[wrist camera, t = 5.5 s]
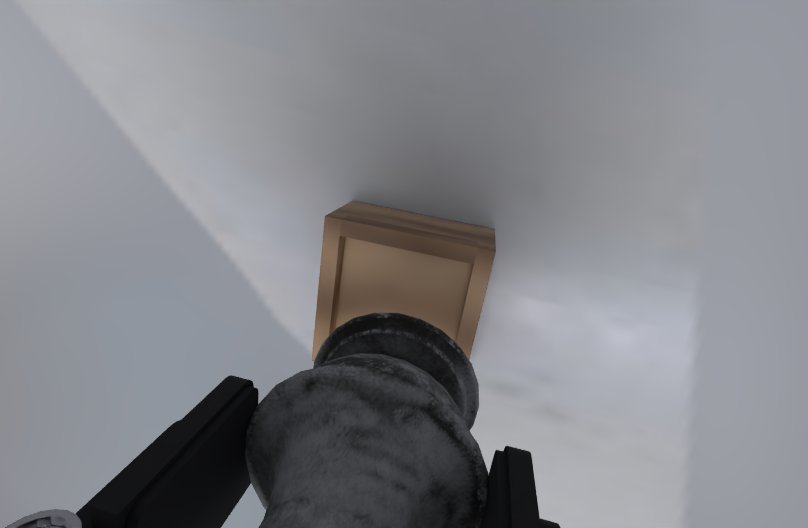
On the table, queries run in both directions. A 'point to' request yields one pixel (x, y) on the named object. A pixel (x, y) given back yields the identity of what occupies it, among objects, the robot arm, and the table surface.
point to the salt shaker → (372, 433)
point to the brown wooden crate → (402, 270)
